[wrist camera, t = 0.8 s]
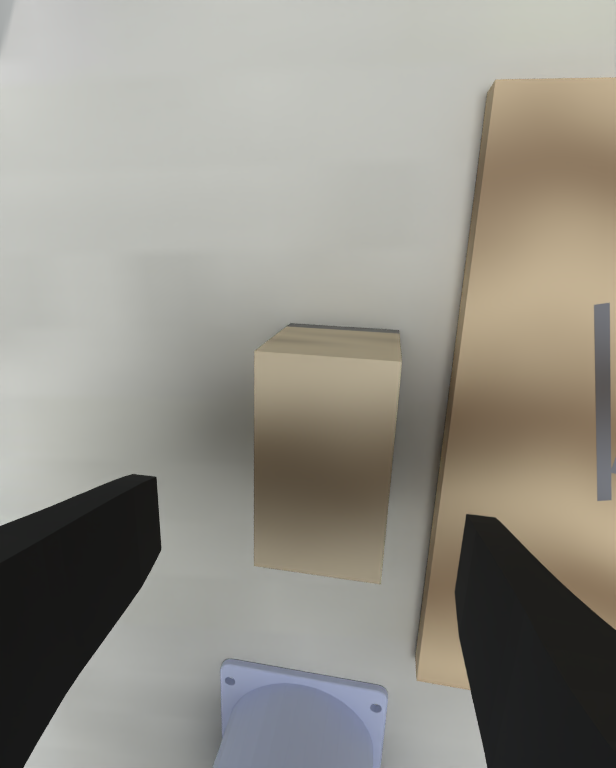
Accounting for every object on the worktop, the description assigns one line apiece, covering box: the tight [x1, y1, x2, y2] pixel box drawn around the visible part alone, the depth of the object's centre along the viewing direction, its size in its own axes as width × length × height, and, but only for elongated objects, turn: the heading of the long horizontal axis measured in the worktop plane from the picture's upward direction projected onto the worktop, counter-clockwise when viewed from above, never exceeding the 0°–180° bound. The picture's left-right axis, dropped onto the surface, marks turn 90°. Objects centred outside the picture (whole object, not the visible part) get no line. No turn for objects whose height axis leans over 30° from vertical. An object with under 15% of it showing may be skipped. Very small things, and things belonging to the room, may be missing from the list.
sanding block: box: [254, 323, 402, 584], centre depth 16 cm, size 7×4×5 cm, turn 178°
